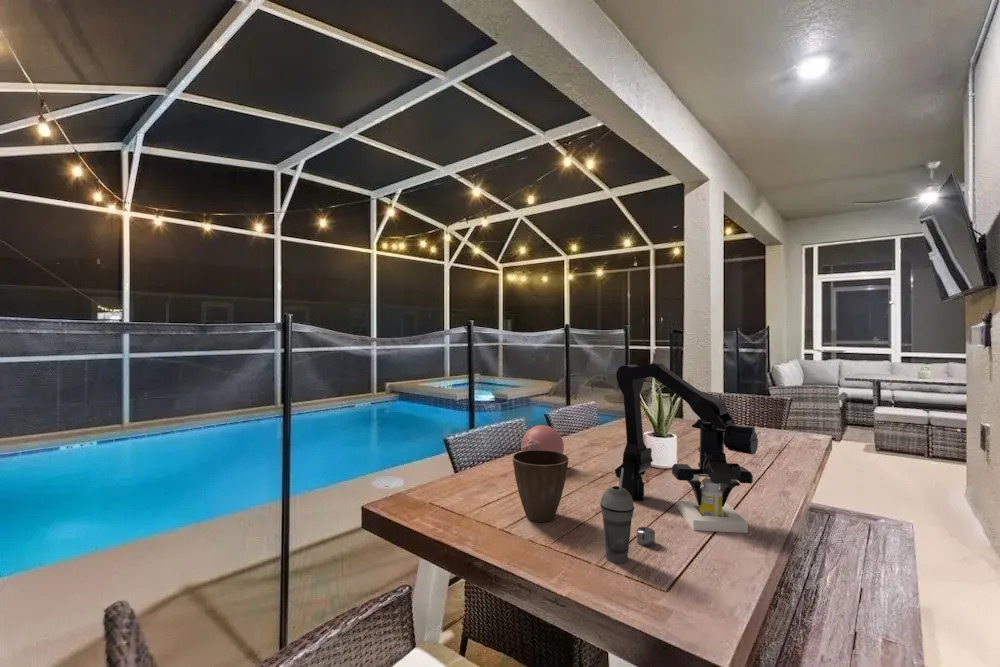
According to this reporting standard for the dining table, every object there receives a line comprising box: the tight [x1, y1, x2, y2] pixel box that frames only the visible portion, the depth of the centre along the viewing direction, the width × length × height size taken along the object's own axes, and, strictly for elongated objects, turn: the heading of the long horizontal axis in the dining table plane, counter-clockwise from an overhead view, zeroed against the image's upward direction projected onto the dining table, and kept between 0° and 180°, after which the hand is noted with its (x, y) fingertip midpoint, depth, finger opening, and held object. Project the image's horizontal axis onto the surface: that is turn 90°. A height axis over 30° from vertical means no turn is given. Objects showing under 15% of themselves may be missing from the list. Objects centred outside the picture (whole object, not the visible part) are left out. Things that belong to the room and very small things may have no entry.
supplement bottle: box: [699, 477, 722, 517], centre depth 118 cm, size 5×5×10 cm
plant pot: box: [512, 450, 569, 523], centre depth 120 cm, size 15×15×16 cm
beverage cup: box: [600, 468, 635, 564], centre depth 98 cm, size 7×7×20 cm
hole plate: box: [677, 500, 749, 534], centre depth 118 cm, size 13×13×2 cm
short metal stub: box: [636, 526, 656, 548], centre depth 105 cm, size 4×4×3 cm
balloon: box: [520, 424, 565, 454], centre depth 161 cm, size 15×20×15 cm
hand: (710, 505), depth 118 cm, fingers open, 5 cm apart
